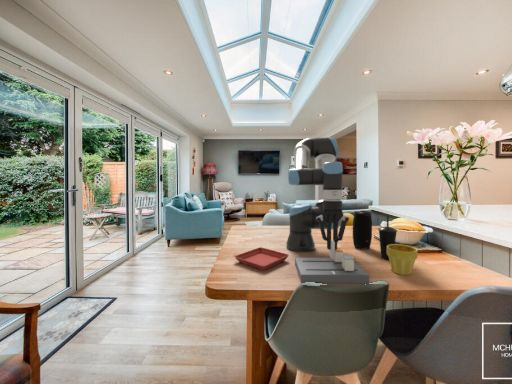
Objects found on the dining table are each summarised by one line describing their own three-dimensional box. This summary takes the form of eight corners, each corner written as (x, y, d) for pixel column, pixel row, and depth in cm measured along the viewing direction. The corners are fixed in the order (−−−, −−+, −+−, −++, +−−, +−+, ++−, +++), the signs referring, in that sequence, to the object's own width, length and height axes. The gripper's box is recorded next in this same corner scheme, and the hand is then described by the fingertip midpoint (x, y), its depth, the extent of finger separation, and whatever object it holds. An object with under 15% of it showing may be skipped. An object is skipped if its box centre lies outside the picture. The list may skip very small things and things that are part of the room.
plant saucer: (263, 273, 94) (263, 265, 94) (233, 263, 106) (233, 255, 106) (289, 261, 107) (289, 254, 107) (260, 253, 119) (260, 247, 119)
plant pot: (407, 279, 86) (407, 253, 85) (380, 269, 95) (381, 246, 95) (422, 273, 91) (423, 249, 90) (396, 265, 100) (396, 242, 99)
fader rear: (335, 262, 95) (335, 251, 95) (332, 258, 99) (332, 248, 99) (343, 262, 95) (343, 251, 94) (339, 258, 99) (339, 248, 98)
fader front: (345, 270, 86) (345, 258, 85) (341, 266, 90) (341, 255, 90) (353, 270, 86) (354, 258, 85) (350, 266, 90) (350, 255, 89)
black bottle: (399, 261, 104) (400, 217, 103) (380, 260, 105) (381, 216, 104) (393, 256, 111) (393, 214, 110) (375, 255, 113) (376, 214, 112)
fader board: (300, 282, 84) (300, 274, 84) (295, 264, 102) (295, 257, 102) (369, 283, 83) (369, 274, 83) (351, 264, 101) (351, 257, 101)
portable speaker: (373, 250, 120) (373, 212, 119) (353, 249, 123) (353, 212, 122) (369, 246, 128) (370, 210, 127) (351, 245, 131) (351, 210, 130)
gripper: (318, 201, 92) (317, 260, 93) (351, 200, 91) (351, 260, 93) (314, 199, 100) (314, 254, 101) (345, 199, 99) (345, 254, 100)
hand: (332, 256), depth 97 cm, fingers closed
